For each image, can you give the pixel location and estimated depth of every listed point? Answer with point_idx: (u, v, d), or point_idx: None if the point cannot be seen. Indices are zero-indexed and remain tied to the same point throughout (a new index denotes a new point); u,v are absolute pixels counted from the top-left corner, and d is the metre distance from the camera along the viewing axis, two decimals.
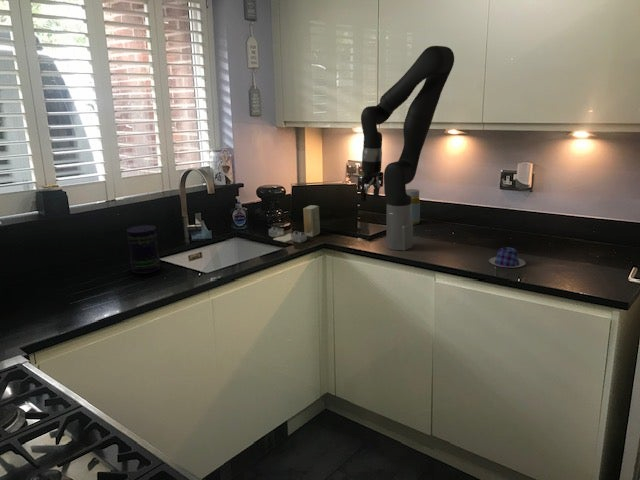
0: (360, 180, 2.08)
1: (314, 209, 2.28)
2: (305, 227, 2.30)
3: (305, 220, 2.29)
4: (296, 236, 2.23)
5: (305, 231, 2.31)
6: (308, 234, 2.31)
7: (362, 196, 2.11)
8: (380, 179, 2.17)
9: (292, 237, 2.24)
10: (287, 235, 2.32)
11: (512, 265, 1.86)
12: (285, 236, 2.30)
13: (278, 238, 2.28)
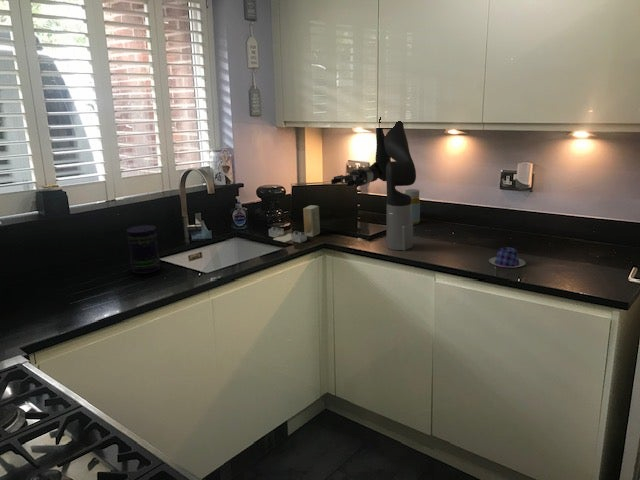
0: None
1: (314, 209, 2.28)
2: (305, 227, 2.30)
3: (305, 220, 2.29)
4: (296, 236, 2.23)
5: (305, 231, 2.31)
6: (308, 234, 2.31)
7: None
8: None
9: (292, 237, 2.24)
10: (287, 235, 2.32)
11: (512, 265, 1.86)
12: (285, 236, 2.30)
13: (278, 238, 2.28)
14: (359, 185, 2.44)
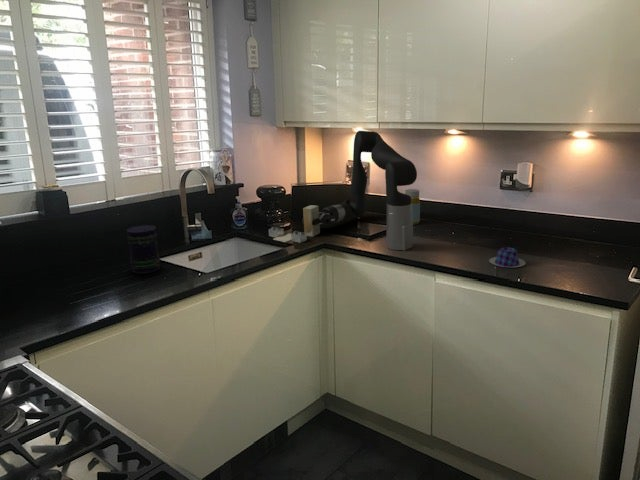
0: None
1: (314, 209, 2.28)
2: (305, 227, 2.30)
3: (305, 220, 2.29)
4: (296, 236, 2.23)
5: (305, 231, 2.31)
6: (308, 234, 2.31)
7: None
8: None
9: (292, 237, 2.24)
10: (287, 235, 2.32)
11: (510, 265, 1.86)
12: (285, 236, 2.30)
13: (278, 238, 2.28)
14: (330, 223, 2.38)
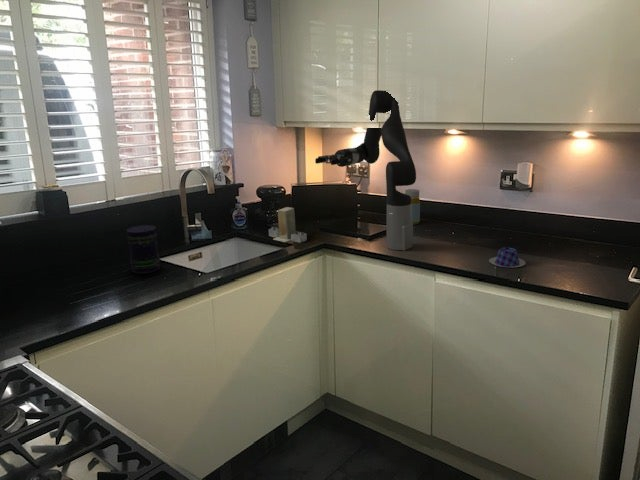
0: None
1: (289, 211, 2.24)
2: (280, 229, 2.26)
3: (280, 222, 2.25)
4: (296, 236, 2.23)
5: (280, 233, 2.27)
6: (283, 236, 2.26)
7: None
8: None
9: (292, 237, 2.24)
10: None
11: (506, 265, 1.86)
12: None
13: (278, 238, 2.28)
14: (344, 165, 2.40)
